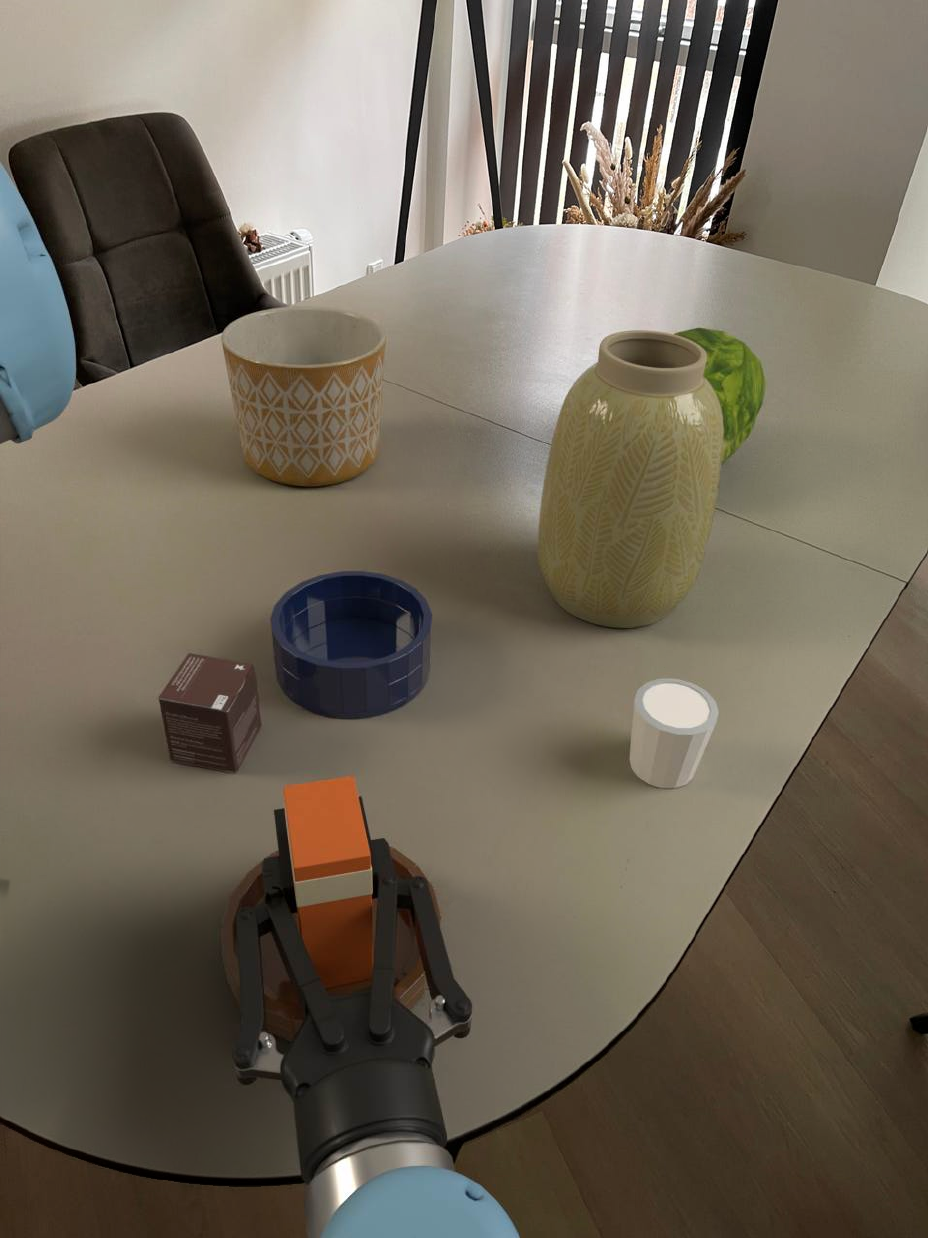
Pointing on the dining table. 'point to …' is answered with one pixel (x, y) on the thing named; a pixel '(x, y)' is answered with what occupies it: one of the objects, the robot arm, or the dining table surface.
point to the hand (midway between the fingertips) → (319, 816)
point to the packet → (331, 878)
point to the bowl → (250, 893)
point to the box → (211, 712)
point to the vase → (631, 481)
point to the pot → (352, 644)
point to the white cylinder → (670, 731)
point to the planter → (306, 392)
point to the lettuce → (731, 383)
